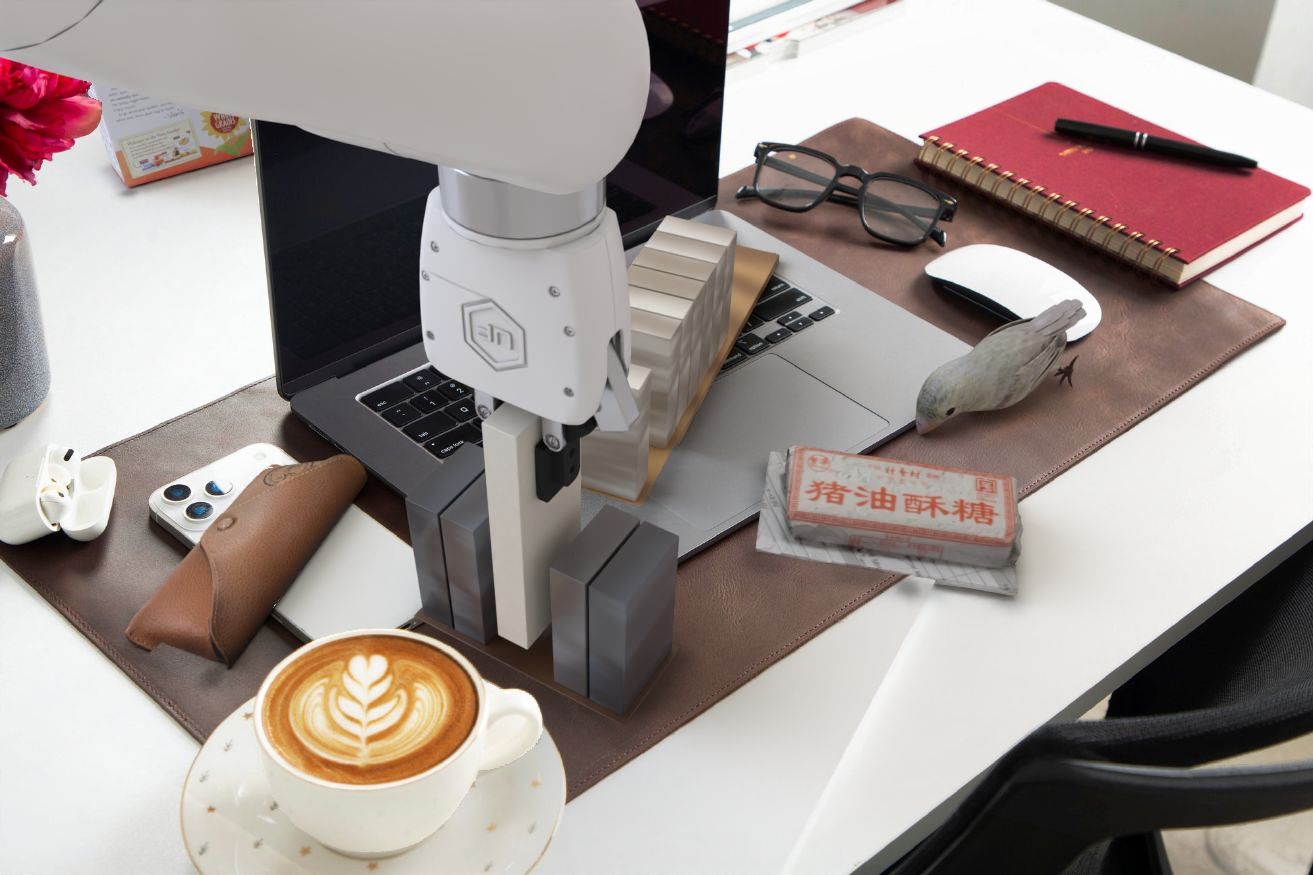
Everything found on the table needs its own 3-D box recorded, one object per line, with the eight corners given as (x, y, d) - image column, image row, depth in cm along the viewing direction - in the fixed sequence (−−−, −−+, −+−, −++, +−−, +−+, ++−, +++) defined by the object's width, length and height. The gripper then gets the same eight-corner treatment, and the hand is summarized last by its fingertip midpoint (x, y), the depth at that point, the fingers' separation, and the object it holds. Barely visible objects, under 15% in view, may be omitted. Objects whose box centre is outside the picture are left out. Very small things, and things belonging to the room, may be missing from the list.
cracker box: (241, 131, 124) (195, -70, 110) (262, 154, 120) (217, -51, 106) (108, 165, 117) (41, -44, 103) (126, 190, 114) (59, -23, 100)
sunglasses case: (266, 457, 85) (294, 409, 81) (347, 510, 86) (378, 465, 82) (114, 641, 72) (136, 596, 68) (211, 700, 73) (239, 659, 69)
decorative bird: (892, 417, 92) (909, 342, 87) (1033, 355, 99) (1056, 283, 94) (938, 456, 89) (959, 381, 84) (1081, 390, 95) (1108, 316, 90)
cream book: (581, 586, 73) (581, 376, 62) (527, 650, 69) (516, 438, 58) (553, 572, 74) (547, 363, 62) (497, 635, 70) (480, 422, 58)
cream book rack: (640, 516, 83) (644, 394, 75) (552, 490, 84) (547, 368, 77) (778, 263, 108) (792, 152, 100) (708, 247, 110) (717, 136, 102)
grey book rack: (680, 655, 74) (690, 532, 66) (624, 735, 69) (627, 613, 61) (479, 557, 79) (466, 433, 72) (414, 625, 75) (393, 501, 67)
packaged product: (1023, 452, 82) (1032, 554, 75) (1007, 500, 85) (1014, 602, 78) (773, 417, 84) (758, 513, 77) (766, 465, 87) (752, 561, 80)
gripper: (330, 164, 52) (379, 462, 64) (631, 271, 46) (622, 576, 58) (434, 104, 57) (461, 392, 69) (718, 194, 51) (693, 490, 63)
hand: (535, 474), depth 64 cm, fingers closed on cream book, 2 cm apart
